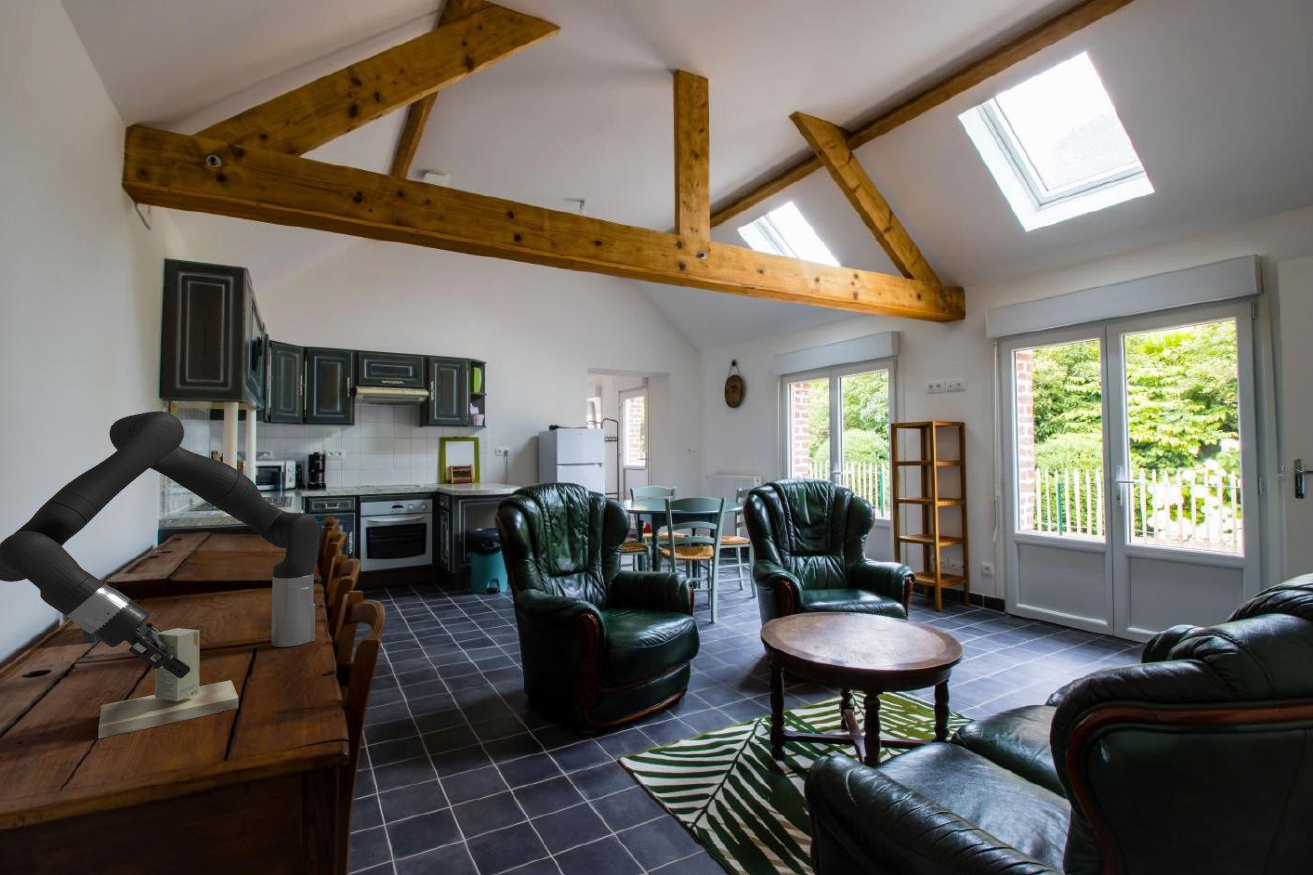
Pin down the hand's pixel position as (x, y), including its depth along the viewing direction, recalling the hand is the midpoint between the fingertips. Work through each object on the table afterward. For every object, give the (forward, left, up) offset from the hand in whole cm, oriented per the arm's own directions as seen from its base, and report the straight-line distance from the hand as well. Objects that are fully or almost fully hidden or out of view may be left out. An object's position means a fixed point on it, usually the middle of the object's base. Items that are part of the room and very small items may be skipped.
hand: (187, 667), depth 120 cm
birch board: (+2, 0, -8) cm, 8 cm away
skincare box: (+2, 0, -5) cm, 5 cm away
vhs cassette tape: (+15, -76, -8) cm, 78 cm away
